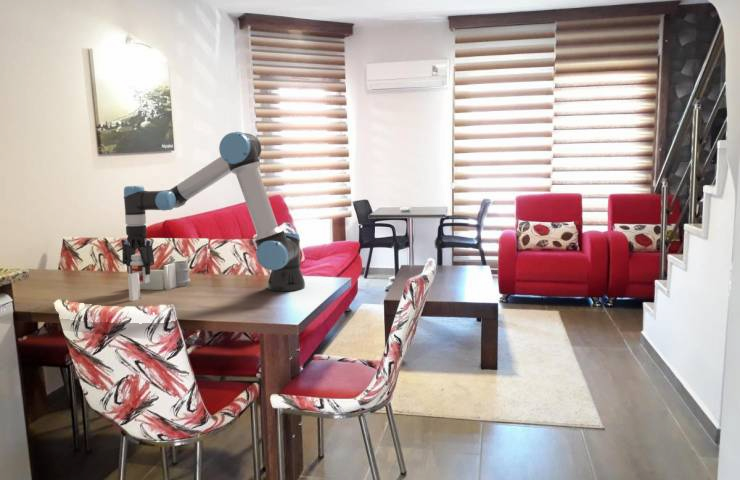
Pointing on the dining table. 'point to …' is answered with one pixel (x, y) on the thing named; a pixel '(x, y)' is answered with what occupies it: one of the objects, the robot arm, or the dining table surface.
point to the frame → (135, 284)
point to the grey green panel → (154, 280)
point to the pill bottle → (137, 266)
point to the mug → (181, 272)
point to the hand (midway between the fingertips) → (139, 281)
